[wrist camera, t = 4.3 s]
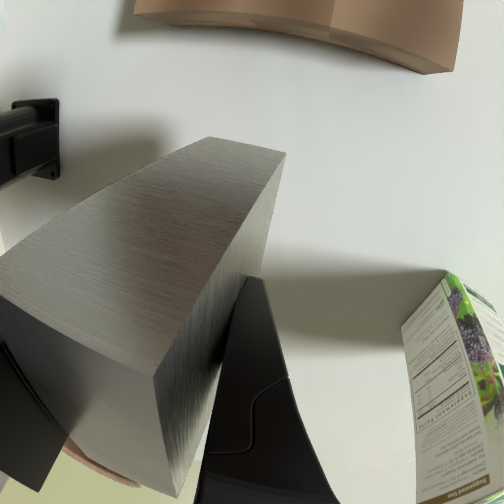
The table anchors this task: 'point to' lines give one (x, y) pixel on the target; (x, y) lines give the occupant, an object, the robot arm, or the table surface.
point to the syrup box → (457, 395)
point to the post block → (336, 24)
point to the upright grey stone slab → (141, 303)
